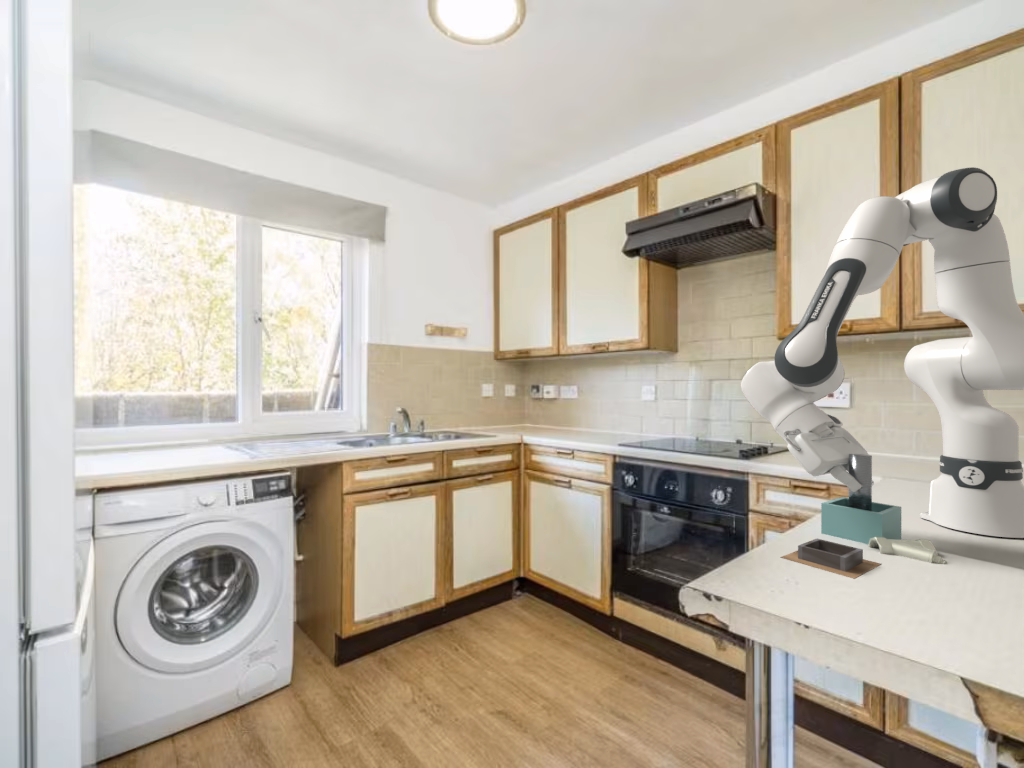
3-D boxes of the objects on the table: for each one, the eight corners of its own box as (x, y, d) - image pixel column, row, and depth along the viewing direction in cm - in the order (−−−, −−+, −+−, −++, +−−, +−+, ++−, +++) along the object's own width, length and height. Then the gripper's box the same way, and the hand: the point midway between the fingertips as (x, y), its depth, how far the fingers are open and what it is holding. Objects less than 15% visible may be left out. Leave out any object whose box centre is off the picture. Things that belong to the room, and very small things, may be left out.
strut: (851, 522, 89) (851, 452, 89) (878, 527, 86) (878, 455, 86) (841, 525, 87) (842, 454, 87) (869, 531, 83) (869, 457, 84)
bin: (842, 533, 93) (842, 496, 93) (901, 546, 85) (901, 506, 85) (821, 541, 87) (821, 503, 88) (881, 556, 80) (881, 514, 80)
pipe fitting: (951, 577, 72) (921, 558, 79) (953, 552, 72) (922, 535, 79) (893, 574, 74) (867, 555, 80) (894, 549, 73) (869, 533, 80)
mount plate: (809, 554, 80) (810, 533, 80) (881, 573, 72) (881, 550, 72) (780, 566, 75) (780, 544, 75) (854, 589, 66) (854, 564, 66)
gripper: (792, 420, 86) (855, 483, 78) (841, 417, 98) (899, 472, 90) (767, 442, 90) (825, 505, 82) (817, 437, 102) (871, 491, 93)
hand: (864, 488), depth 86 cm, fingers closed on strut, 3 cm apart
